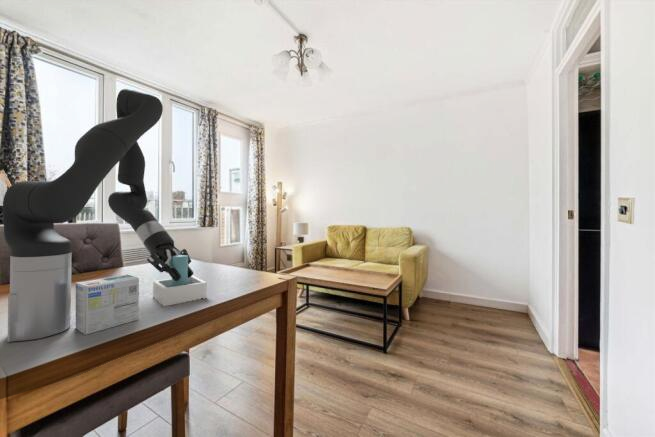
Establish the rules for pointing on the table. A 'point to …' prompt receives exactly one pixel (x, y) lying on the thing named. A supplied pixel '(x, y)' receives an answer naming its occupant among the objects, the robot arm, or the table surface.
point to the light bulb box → (106, 303)
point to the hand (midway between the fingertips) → (185, 277)
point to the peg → (180, 269)
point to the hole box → (179, 291)
